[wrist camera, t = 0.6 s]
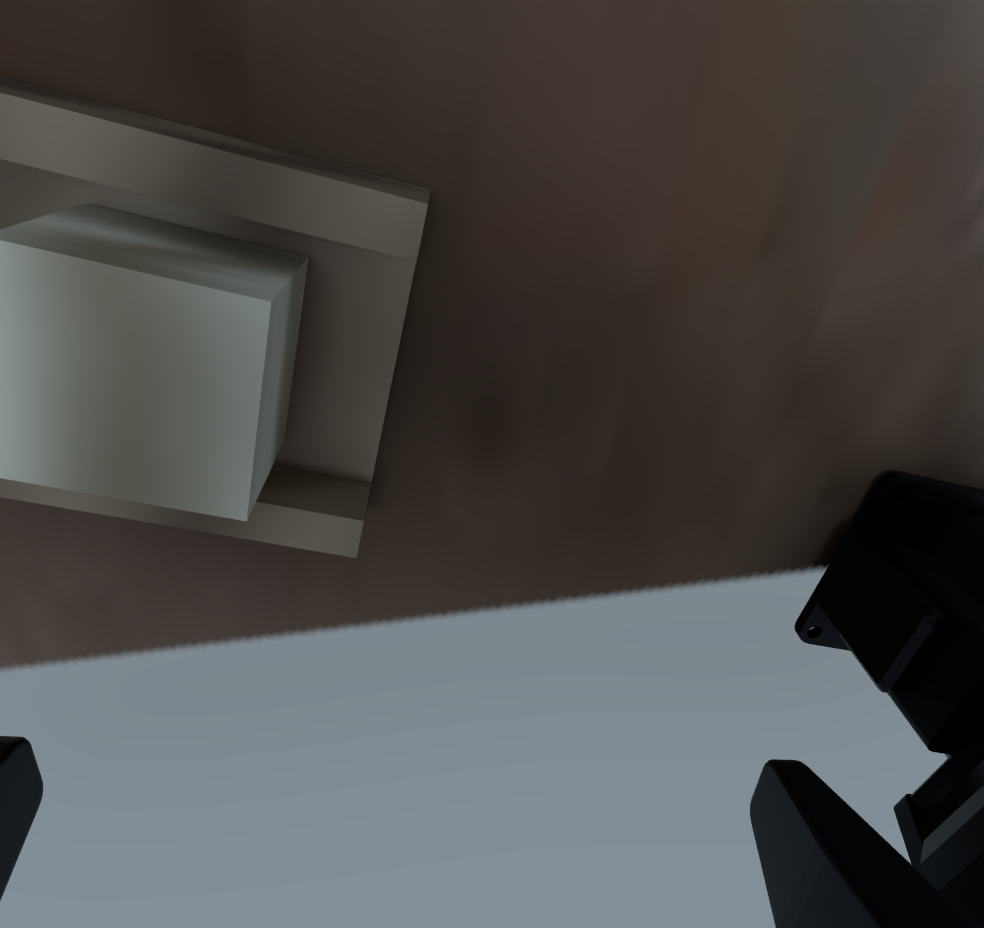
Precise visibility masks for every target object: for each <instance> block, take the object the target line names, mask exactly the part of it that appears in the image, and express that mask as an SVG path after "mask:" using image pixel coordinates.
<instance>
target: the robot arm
mask: <svg viewBox="0 0 984 928" xmlns="http://www.w3.org/2000/svg"><path fill="white" fill-rule="evenodd" d="M898 486H899V488H898V490H897V491H896V492H894V493H892V494H891V491H892V490H893V489H894V488H896V487H898ZM812 627H814V628H813V629H810V628H812ZM809 629H810V630H809ZM795 631H796V633H797V634H798V636H799V637H800V639H801V640H802V641H803V642H806V643H808V644H814V645H820V646H826V647H831V648H838V649H843V650H849V651H852V653H853V654H854V656H855V657H856V658H857V660H858V661H859V663H860V664H861V665H862V667H863V668H864V670H865V671H866V672H867V674H868V675H869V676H870V678H871V679H872V681H873V682H874V683H875V685H876V686H877V687H878V689H879V690H881V691H882V692H885V693H888V695H889V696H890V697H891V699H892V700H893V702H894V703H895V704H896V706H897V707H898V708H899V710H900V711H901V712H902V714H903V715H904V717H905V718H906V719H907V721H908V722H909V723H910V725H911V726H912V728H913V729H914V730H915V732H916V733H917V734H918V736H919V737H920V739H921V740H922V741H923V743H924V744H925V745H926V747H927V748H928V750H930V751H932V752H938V753H944V754H945V755H946V756H947V758H948V759H947V760H946V761H945V762H944V763H943V764H942V765H941V766H940V767H939V768H938V769H937V770H936V771H935V772H934V773H933V774H932V775H931V776H930V777H929V778H928V779H927V780H926V781H925V782H924V783H923V784H922V785H921V786H920V787H919V788H918V789H917V790H916V791H915V792H914V793H913V794H906V795H905V796H904V797H903V798H902V799H901V800H900V801H899V802H898V803H897V804H896V805H895V806H894V812H895V814H896V818H897V821H898V824H899V827H900V830H901V833H902V836H903V839H904V842H905V846H906V849H907V852H908V855H909V858H910V861H911V864H912V865H911V864H910V863H909V862H908V861H907V860H906V859H905V858H904V857H903V856H902V855H901V854H899V853H898V852H897V851H896V850H895V849H894V848H893V847H892V846H891V845H890V844H889V843H888V842H887V841H886V840H885V839H884V838H883V837H882V836H880V835H879V834H878V833H877V832H876V831H875V830H874V829H873V828H872V827H871V826H870V825H869V824H868V823H867V822H866V821H865V820H864V819H863V818H861V817H860V816H859V815H858V814H857V813H856V812H855V811H854V810H853V809H852V808H851V807H850V806H849V805H848V804H847V803H846V802H845V801H843V800H842V799H841V798H840V797H839V796H838V795H837V794H836V793H835V792H834V791H833V790H832V789H831V788H830V787H829V786H828V785H827V784H826V783H824V782H823V781H822V780H821V779H820V778H819V777H818V776H817V775H816V774H815V773H814V772H813V771H812V770H811V769H810V768H809V767H807V766H806V765H805V764H803V763H802V762H800V761H796V760H774V759H773V760H769V761H768V762H767V763H766V764H765V765H764V767H763V770H762V772H761V775H760V778H759V780H758V784H757V786H756V789H755V792H754V795H753V797H752V799H751V804H750V817H751V823H752V828H753V832H754V836H755V841H756V845H757V849H758V853H759V858H760V862H761V866H762V870H763V875H764V879H765V884H766V888H767V892H768V896H769V900H770V905H771V909H772V913H773V917H774V922H775V926H776V928H984V491H981V490H976V489H972V488H967V487H963V486H958V485H954V484H949V483H945V482H940V481H936V480H931V479H926V478H922V477H917V476H913V475H908V474H904V473H896V472H893V473H890V474H887V475H885V476H884V477H882V478H881V479H880V480H879V481H878V483H877V484H876V486H875V487H874V489H873V491H872V493H871V494H870V496H869V498H868V499H867V501H866V503H865V505H864V506H863V508H862V510H861V511H860V513H859V515H858V516H857V518H856V520H855V522H854V523H853V525H852V527H851V528H850V530H849V532H848V534H847V535H846V537H845V539H844V540H843V542H842V544H841V546H840V547H839V549H838V551H837V552H836V554H835V556H834V558H833V559H832V561H831V563H830V564H829V566H828V568H827V570H826V571H825V573H824V575H823V576H822V578H821V580H820V582H819V583H818V585H817V587H816V589H815V590H814V592H813V594H812V595H811V597H810V599H809V601H808V602H807V604H806V606H805V607H804V609H803V611H802V612H801V615H800V616H799V618H798V619H797V621H796V624H795ZM42 794H43V781H42V777H41V774H40V771H39V768H38V766H37V763H36V759H35V756H34V753H33V750H32V747H31V744H30V743H29V741H28V740H27V739H25V738H24V737H11V736H10V737H9V736H0V900H1V898H2V896H3V893H4V890H5V888H6V886H7V883H8V881H9V879H10V876H11V874H12V871H13V869H14V866H15V864H16V861H17V859H18V856H19V854H20V852H21V849H22V847H23V844H24V842H25V839H26V837H27V835H28V832H29V830H30V827H31V825H32V823H33V820H34V818H35V815H36V813H37V810H38V808H39V805H40V803H41V799H42Z"/></svg>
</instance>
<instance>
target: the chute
mask: <svg viewBox="0 0 984 928" xmlns="http://www.w3.org/2000/svg"><path fill="white" fill-rule="evenodd" d="M430 191H431V189H427V188H423V187H419V186H415V185H412V184H408V183H404V182H400V181H396V180H393V179H389V178H385V177H381V176H378V175H374V174H370V173H366V172H362V171H359V170H355V169H351V168H347V167H343V166H340V165H336V164H332V163H328V162H324V161H321V160H317V159H313V158H309V157H306V156H302V155H298V154H294V153H290V152H287V151H283V150H279V149H275V148H271V147H268V146H264V145H260V144H256V143H253V142H249V141H245V140H241V139H237V138H234V137H230V136H226V135H222V134H218V133H215V132H211V131H207V130H203V129H200V128H196V127H192V126H188V125H184V124H181V123H177V122H173V121H169V120H165V119H162V118H158V117H154V116H150V115H146V114H143V113H139V112H135V111H131V110H128V109H124V108H120V107H116V106H112V105H109V104H105V103H101V102H97V101H93V100H90V99H86V98H82V97H78V96H75V95H71V94H67V93H63V92H59V91H56V90H52V89H48V88H44V87H40V86H37V85H33V84H29V83H25V82H22V81H18V80H14V79H10V78H6V77H3V76H0V230H1V229H4V228H7V227H10V226H13V225H17V224H20V223H23V222H26V221H29V220H33V219H36V218H39V217H42V216H45V215H49V214H52V213H55V212H58V211H61V210H64V209H68V208H71V207H74V206H77V205H80V204H84V203H87V204H91V205H95V206H99V207H103V208H107V209H112V210H116V211H120V212H124V213H128V214H132V215H137V216H141V217H145V218H149V219H153V220H157V221H161V222H166V223H170V224H174V225H178V226H182V227H186V228H191V229H195V230H199V231H203V232H207V233H211V234H216V235H220V236H224V237H228V238H232V239H236V240H240V241H245V242H249V243H253V244H257V245H261V246H265V247H270V248H274V249H278V250H282V251H286V252H290V253H295V254H299V255H303V256H307V257H308V265H307V272H306V280H305V287H304V295H303V303H302V310H301V318H300V325H299V333H298V340H297V348H296V355H295V363H294V370H293V378H292V386H291V393H290V401H289V408H288V416H287V423H286V431H285V438H284V442H283V444H282V446H281V449H280V451H279V453H278V455H277V457H276V459H275V462H274V464H273V466H272V468H271V470H270V472H269V474H268V477H267V479H266V481H265V483H264V485H263V487H262V490H261V492H260V494H259V496H258V498H257V500H256V502H255V505H254V507H253V509H252V511H251V513H250V515H249V517H248V520H247V521H241V520H236V519H230V518H224V517H218V516H213V515H207V514H201V513H196V512H190V511H184V510H179V509H173V508H167V507H162V506H156V505H150V504H144V503H139V502H133V501H127V500H122V499H116V498H110V497H105V496H99V495H93V494H88V493H82V492H76V491H70V490H65V489H59V488H53V487H48V486H42V485H36V484H31V483H25V482H19V481H13V480H8V479H2V478H0V497H2V498H8V499H14V500H20V501H26V502H31V503H37V504H43V505H49V506H55V507H61V508H66V509H72V510H78V511H84V512H90V513H96V514H101V515H107V516H113V517H119V518H125V519H131V520H136V521H142V522H148V523H154V524H160V525H166V526H171V527H177V528H183V529H189V530H195V531H201V532H206V533H212V534H218V535H224V536H230V537H236V538H241V539H247V540H253V541H259V542H265V543H271V544H276V545H282V546H288V547H294V548H300V549H306V550H311V551H317V552H323V553H329V554H335V555H341V556H346V557H352V558H357V553H358V548H359V543H360V538H361V533H362V528H363V524H364V519H365V513H366V508H367V503H368V498H369V493H370V487H371V482H372V477H373V472H374V467H375V463H376V458H377V453H378V448H379V443H380V438H381V433H382V428H383V423H384V418H385V413H386V408H387V403H388V398H389V393H390V388H391V384H392V379H393V374H394V369H395V364H396V359H397V354H398V349H399V344H400V339H401V334H402V329H403V324H404V319H405V314H406V309H407V305H408V300H409V295H410V290H411V285H412V280H413V275H414V270H415V265H416V261H417V257H418V252H419V248H420V243H421V238H422V233H423V228H424V223H425V218H426V213H427V208H428V203H429V197H430Z"/></svg>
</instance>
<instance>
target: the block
mask: <svg viewBox="0 0 984 928" xmlns="http://www.w3.org/2000/svg"><path fill="white" fill-rule="evenodd" d="M307 265H308V257H307V256H303V255H299V254H295V253H290V252H286V251H282V250H278V249H274V248H270V247H265V246H261V245H257V244H253V243H249V242H245V241H240V240H236V239H232V238H228V237H224V236H220V235H216V234H211V233H207V232H203V231H199V230H195V229H191V228H186V227H182V226H178V225H174V224H170V223H166V222H161V221H157V220H153V219H149V218H145V217H141V216H137V215H132V214H128V213H124V212H120V211H116V210H112V209H107V208H103V207H99V206H95V205H91V204H87V203H84V204H80V205H77V206H74V207H71V208H68V209H64V210H61V211H58V212H55V213H52V214H49V215H45V216H42V217H39V218H36V219H33V220H29V221H26V222H23V223H20V224H17V225H13V226H10V227H7V228H4V229H1V230H0V478H2V479H8V480H13V481H19V482H25V483H31V484H36V485H42V486H48V487H53V488H59V489H65V490H70V491H76V492H82V493H88V494H93V495H99V496H105V497H110V498H116V499H122V500H127V501H133V502H139V503H144V504H150V505H156V506H162V507H167V508H173V509H179V510H184V511H190V512H196V513H201V514H207V515H213V516H218V517H224V518H230V519H236V520H241V521H247V520H248V517H249V515H250V513H251V511H252V509H253V507H254V505H255V502H256V500H257V498H258V496H259V494H260V492H261V490H262V487H263V485H264V483H265V481H266V479H267V477H268V474H269V472H270V470H271V468H272V466H273V464H274V462H275V459H276V457H277V455H278V453H279V451H280V449H281V446H282V444H283V442H284V438H285V431H286V423H287V416H288V408H289V401H290V393H291V386H292V378H293V370H294V363H295V355H296V348H297V340H298V333H299V325H300V318H301V310H302V303H303V295H304V287H305V280H306V272H307Z"/></svg>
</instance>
